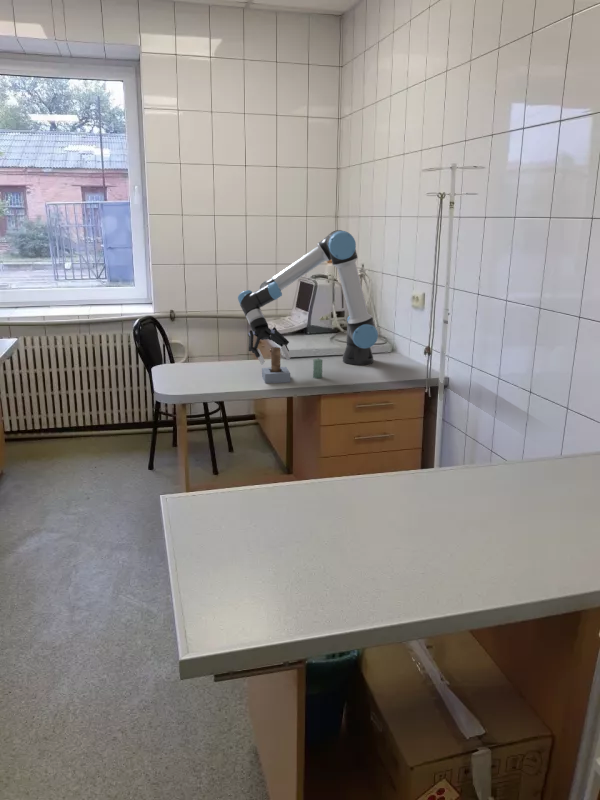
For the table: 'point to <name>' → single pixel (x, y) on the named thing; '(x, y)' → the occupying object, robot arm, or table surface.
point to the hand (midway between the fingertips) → (276, 360)
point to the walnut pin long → (275, 359)
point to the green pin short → (317, 368)
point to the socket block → (276, 375)
